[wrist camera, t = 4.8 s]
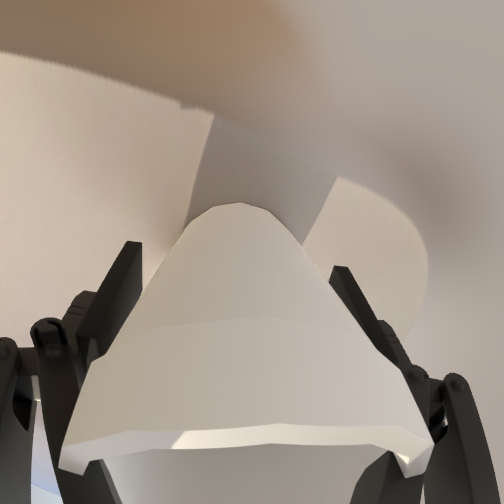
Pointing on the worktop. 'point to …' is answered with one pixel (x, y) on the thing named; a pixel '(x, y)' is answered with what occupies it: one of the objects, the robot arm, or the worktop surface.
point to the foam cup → (242, 380)
